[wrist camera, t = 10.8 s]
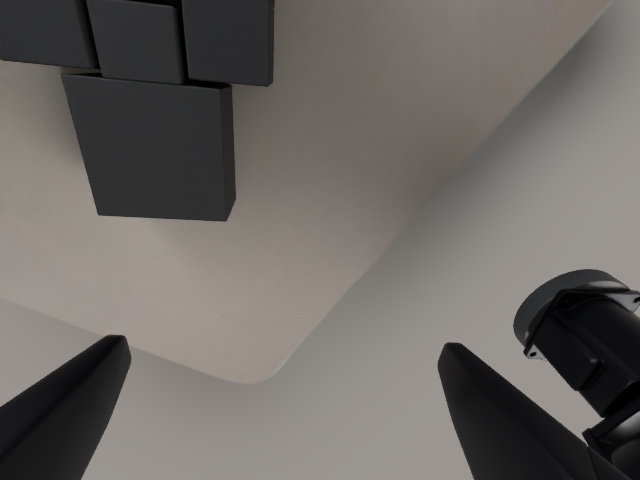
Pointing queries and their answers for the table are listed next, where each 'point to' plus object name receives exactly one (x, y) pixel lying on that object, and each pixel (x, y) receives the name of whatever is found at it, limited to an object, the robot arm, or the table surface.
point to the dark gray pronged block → (199, 26)
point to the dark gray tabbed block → (151, 120)
